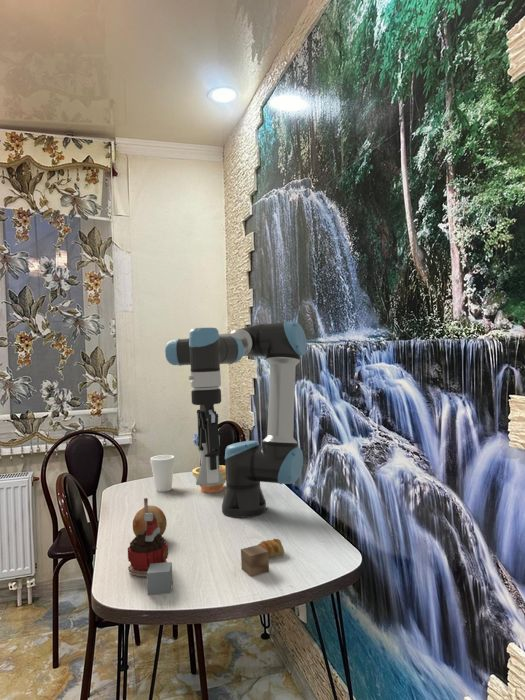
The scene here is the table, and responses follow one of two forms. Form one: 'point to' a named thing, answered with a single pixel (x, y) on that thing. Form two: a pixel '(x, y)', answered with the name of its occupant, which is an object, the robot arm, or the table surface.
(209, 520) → the table surface
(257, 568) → the walnut block
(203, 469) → the flask
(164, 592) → the slate-grey block
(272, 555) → the pastry
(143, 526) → the onion
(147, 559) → the cake
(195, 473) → the potted cactus
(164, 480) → the foam cup
